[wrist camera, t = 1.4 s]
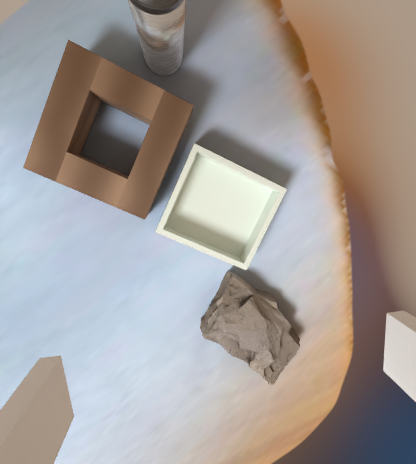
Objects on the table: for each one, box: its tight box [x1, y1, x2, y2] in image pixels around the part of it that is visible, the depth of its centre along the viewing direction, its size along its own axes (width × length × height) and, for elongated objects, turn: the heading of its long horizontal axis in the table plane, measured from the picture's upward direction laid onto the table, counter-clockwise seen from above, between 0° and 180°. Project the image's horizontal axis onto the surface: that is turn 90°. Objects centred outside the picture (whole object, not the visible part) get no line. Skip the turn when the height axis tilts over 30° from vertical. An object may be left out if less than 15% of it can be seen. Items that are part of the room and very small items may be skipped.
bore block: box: [23, 40, 194, 219], centre depth 28 cm, size 12×12×4 cm
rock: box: [200, 271, 300, 385], centre depth 35 cm, size 14×9×4 cm
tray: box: [156, 143, 287, 270], centre depth 31 cm, size 11×10×3 cm
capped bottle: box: [128, 0, 186, 76], centre depth 23 cm, size 4×4×13 cm
